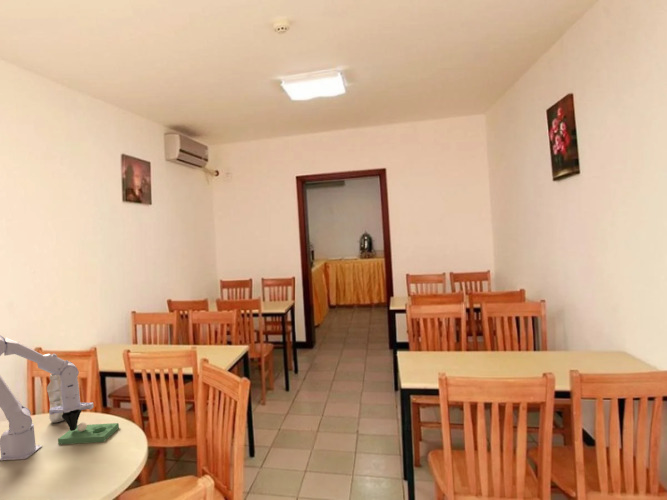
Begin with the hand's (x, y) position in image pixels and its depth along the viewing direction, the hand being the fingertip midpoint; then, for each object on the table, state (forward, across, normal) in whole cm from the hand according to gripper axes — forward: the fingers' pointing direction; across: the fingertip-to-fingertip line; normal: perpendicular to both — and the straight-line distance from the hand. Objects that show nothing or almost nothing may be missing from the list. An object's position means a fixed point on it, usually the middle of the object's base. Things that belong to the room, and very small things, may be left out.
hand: (73, 429), depth 148 cm
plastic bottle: (+3, -13, +17) cm, 21 cm away
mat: (+3, +6, -1) cm, 7 cm away
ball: (-1, +3, -1) cm, 3 cm away
